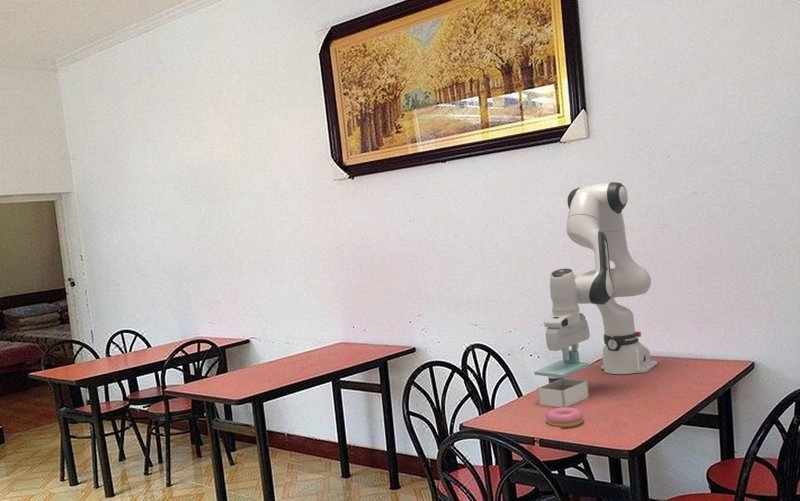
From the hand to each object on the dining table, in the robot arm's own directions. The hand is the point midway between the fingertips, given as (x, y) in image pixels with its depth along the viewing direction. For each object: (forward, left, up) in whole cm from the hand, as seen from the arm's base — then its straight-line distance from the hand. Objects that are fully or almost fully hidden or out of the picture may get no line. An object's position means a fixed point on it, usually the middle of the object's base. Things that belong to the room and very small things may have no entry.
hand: (571, 358), depth 238 cm
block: (+3, 0, -13) cm, 13 cm away
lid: (+6, 0, -3) cm, 6 cm away
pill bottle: (-3, -9, -14) cm, 17 cm away
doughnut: (+25, +13, -14) cm, 32 cm away
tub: (+6, 0, -13) cm, 15 cm away
